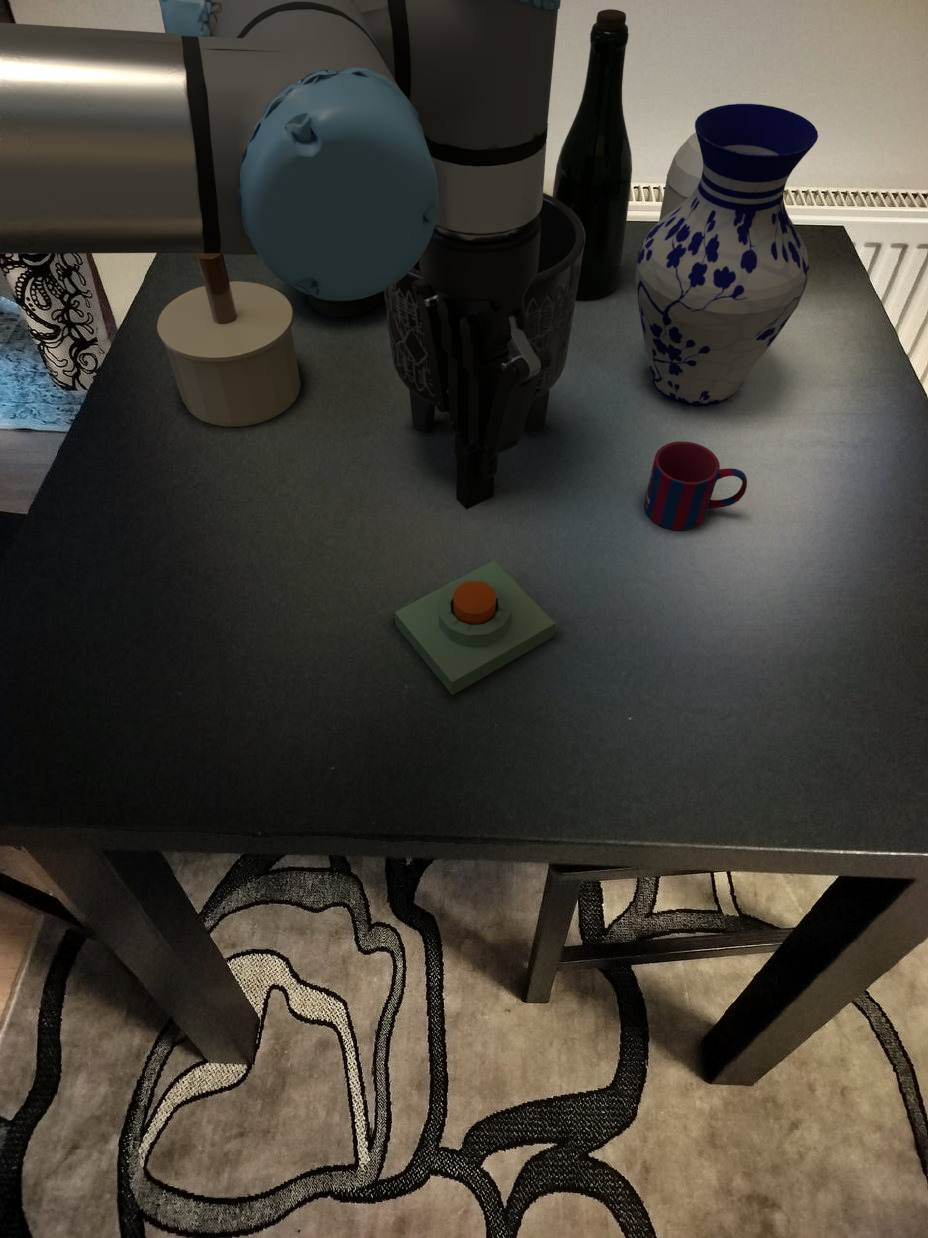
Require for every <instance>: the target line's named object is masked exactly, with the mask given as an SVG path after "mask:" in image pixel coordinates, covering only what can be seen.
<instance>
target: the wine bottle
mask: <svg viewBox="0 0 928 1238" xmlns="http://www.w3.org/2000/svg"><path fill="white" fill-rule="evenodd" d="M626 22H627V13H626V12H624V11H623V10H620V9H619V10H618V9H613V8H609V9H602V10H600V11H598V12H597V15H596V20H595V23H594V24H592V27H591V30H590V34H589V51H588V52H589V53H588V59H587V60H588V61H587V68H586V75H585V76H586V77H585V82H584V87H583V92H582V95H581V100H580V103H579V106H578V109H577V112H576V114H575V116H574V119H573V120H572V123H571V126H570V128H569V129H568V132H567V134H566V136H565V138H564V141H563V143H562V146H561V148H560V151H559V155H558V159H557V162H556V166H555V174H554V179H553V186H552V187H553V189H552V197H554V198H556V199H558V200H559V201H561V202H562V203H564V204H566V205H567V206H568V207H569V208H570V209H571V210H573V211H574V213H575V214H576V215H577V216H578V217H579V219H580V220H581V223H582V225H583V227H584V230H585V237H586V238H585V245H584V251H583V258H582V264H581V270H580V276H579V282H578V289H577V295H576V299H581V300H582V299H583V300H584V299H587V300H588V299H594V298H599V297H602V296H604V295H607V294H608V293H610V292H611V291H612V290H613V289H615V287H616V286H617V284H618V282H619V277H620V272H621V264H622V259H623V250H624V244H625V235H626V229H627V221H628V213H629V204H630V197H631V189H632V188H631V187H632V178H633V177H632V175H633V156H632V149H631V143H630V140H629V134H628V130H627V125H626V120H625V114H624V113H625V112H624V105H623V83H624V82H623V81H624V69H625V62H626V61H625V58H626V51H627V46H628V42H629V37H630V34H629V26H628V25H627V24H626Z"/></svg>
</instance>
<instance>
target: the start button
mask: <svg viewBox="0 0 928 1238" xmlns="http://www.w3.org/2000/svg"><path fill="white" fill-rule="evenodd" d="M453 605H454V613H455V615H456V616H457V618H458V619H459V620H461V621H462V622H464V623H467V624H472V625H478V624H482V623H485V622H487V621H489V620H490V619H491V618H492V617H493V615H494V613H495V610H496V594H495V592H494V590H493V589H492V587H490V586H489V585H488V584H486V583H484V582H480V581H469V582H466V583H463V584H462V585H460V586H459V587H458V588H457V589H456V590H455V592H454V596H453Z"/></svg>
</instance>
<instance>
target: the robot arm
mask: <svg viewBox="0 0 928 1238" xmlns="http://www.w3.org/2000/svg"><path fill="white" fill-rule="evenodd" d="M561 1H562V0H158V2H159V6H160V11H161V18H162V25H163V29H164V32H160V31H159V32H157V31H142V30H124V29H111V28H109V29H108V28H93V27H92V28H91V27H77V26H61V25H44V24H31V23H30V24H28V23H13V22H0V255H22V254H23V255H26V254H27V255H29V254H30V255H31V254H33V255H35V254H37V255H38V254H40V255H41V254H42V255H43V254H45V255H46V254H49V255H51V254H55V255H56V254H57V255H58V254H196V253H218V254H223V255H233V256H238V255H239V256H240V255H241V256H242V255H243V256H245V255H247V256H248V255H251V256H252V255H254V256H255V255H258V256H259V258H260V259H261V260H262V262H263V263H264V265H265V266H266V267H267V268H268V269H269V270H270V271H271V272H272V273H273V274H274V276H276V277H277V278H278V279H279V280H280V281H282V283H284V284H287V285H289V286H291V287H292V288H294V289H295V290H298V291H299V292H301V293H304V294H307V295H308V296H309V295H313V296H315V297H316V298H319V299H323V300H330V301H351V300H356V299H362V298H365V297H369V296H372V295H375V294H377V293H379V292H381V293H382V292H384V290H385V289H387V288H389V287H390V286H392V285H393V284H395V283H396V282H397V281H399V280H400V279H401V278H403V277H404V276H405V275H406V274H407V273H408V272H409V271H410V270H411V269H412V268H413V267H414V266H415V264H416V263H417V262H418V260H419V264H420V271H421V274H422V276H423V278H422V279H419V280H416V281H414V282H413V283H412V289H413V293H414V296H415V299H416V302H417V305H418V308H419V311H420V314H421V319H422V325H423V331H424V337H425V343H426V349H427V355H428V361H429V367H430V373H431V379H432V385H433V391H434V397H435V403H436V406H435V407H436V409H437V411H438V412H439V413H440V414H444V413H446V414H447V415H448V425H449V427H450V429H451V430H452V432H453V441H454V443H453V445H454V449H453V450H454V451H453V452H454V456H455V477H456V478H455V497H456V500H457V502H458V503H459V504H461V506H462V507H463V508H464V509H465V510H466V511H467V510H469V509H471V508H473V507H475V506H477V505H479V504H482V503H483V502H485V501H488V500H489V499H491V498H494V497H495V477H496V475H497V474H498V468H499V455H500V454H502V453H504V452H506V451H508V450H510V449H512V448H514V447H517V446H518V445H519V444H520V441H521V438H522V434H523V432H524V428H525V422H526V419H527V415H528V412H529V409H530V405H531V402H532V399H533V396H534V392H535V389H536V386H537V382H538V379H539V377H540V376H541V375H542V374H543V373H544V372H545V371H546V370H547V369H548V368H549V367H550V363H551V361H550V357H549V355H548V353H547V352H546V351H545V350H540V351H538V352H535V353H534V351H533V349H532V347H531V345H530V343H529V341H528V340H527V338H526V336H525V334H524V332H525V330H526V327H527V317H526V313H525V308H524V295H525V293H526V291H527V290H528V288H529V286H530V284H531V283H532V281H533V280H534V278H535V276H536V274H537V271H538V264H539V250H540V237H541V218H540V216H539V212H540V210H541V207H542V201H543V193H544V186H545V185H544V184H545V170H546V155H547V154H546V153H547V139H548V128H549V114H550V113H549V112H550V100H551V90H552V81H553V80H552V79H553V69H554V59H555V58H554V57H555V49H556V37H557V25H558V15H559V10H560V8H561ZM437 309H438V310H437ZM447 390H448V394H447Z"/></svg>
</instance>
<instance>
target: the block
mask: <svg viewBox="0 0 928 1238" xmlns="http://www.w3.org/2000/svg"><path fill="white" fill-rule="evenodd" d="M469 581H480V582H484V583H486V584H488V585H489V586H490V587H492V589H493V590H494V592H495V594H496V610H495V613H494V615H493V617H492V618H491V619H490V620H489V621H487V622H485V623H482V624H478V625H472V624H467V623H464V622H462V621H461V620H459V619H458V618H457V616H456V615H455V613H454V605H453V596H454V592H455V590H456V589H457V588H458V587H459V586H460V585H462V584H463V583H466V582H469ZM394 622H395V627H396V628H397V629H398V630H399V632H400V633H401V635H403V637H405V639H406V640H407V641H408V643H409V644H410V645H411V646H412V647H413V649H414V651H416V653H417V654H418V655H419V656H420V657H421V659H422V660H423V662H424V663H425V664H426V665H427V666H428V668H429V669H430V670H431V671H432V673H434V675H436V678H437V679H438V680H439V681H440V682H441V684H443V686H444V687H445V688H446V690H447V691H448V692H449V693H450V695H452V696H454V695H455V694H457V693H459V692H461V691H462V690H464V689H466V688H468V687H470V686H471V685H473V684H474V683H476V682H479V681H480V680H481V679H483V678H485V677H486V676H488V675H490V674H492V673H493V672H495V671H497V670H499V669H500V668H502V667H504V666H505V665H507V664H509V663H511V662H513V661H514V660H516V659H517V658H519V657H521V656H523V655H524V654H527V653H528V652H530V651H532V650H533V649H535V648H536V647H538V646H540V645H542V644H544V643H545V642H548V641H549V640H550V639H552V638H554V637H555V630H556V622H555V621H554V620H553V619H552V618H551V617H550V616H549V615H548V614H547V613H546V612H545V611H544V610H543V608H541V606H540V605H539V604H538V603H537V602H536V601H534V599H533V598H532V597H531V596H530V595H529V594H528V593H527V592H526V591H525V590H524V588H522V587H521V586H520V585H519V583H517V582H516V581H515V579H513V577H511V575H510V574H509V573H508V572H507V571H506V570H505V569H504V568H503V567H502V566H501V565H500V564H499V563H498V562H497V561H496V560H495V559H493V560H491V561H489V562H487V563H486V564H483V565H481V566H480V567H478V568H476V569H474V570H472V571H470V572H468V573H466V574H465V575H463V576H461V577H459V578H457V579H455V580H453V581H451V582H449V583H447V584H445V585H443V586H441V587H440V588H438V589H436V590H434V591H431V592H430V593H428V594H426V595H424V596H423V597H421V598H418V599H416V600H414V601H413V602H411V603H408V604H407V605H404V606H403V607H401V608H399V609H398V610H396V611H394Z"/></svg>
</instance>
